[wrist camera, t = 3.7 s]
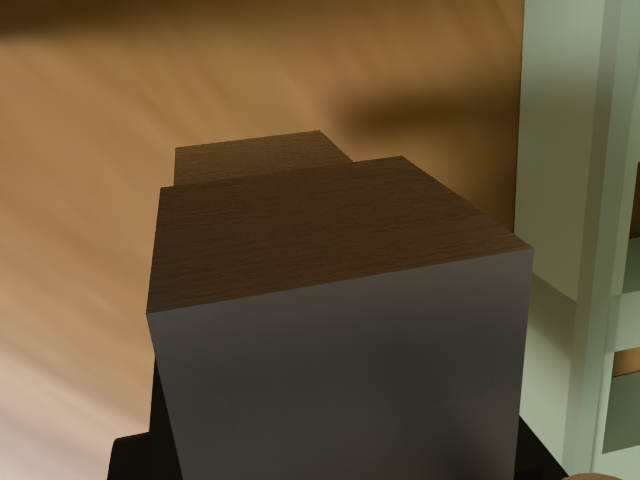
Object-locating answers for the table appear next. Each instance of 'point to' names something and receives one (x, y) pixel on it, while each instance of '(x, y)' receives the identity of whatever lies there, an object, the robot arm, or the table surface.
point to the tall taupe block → (334, 318)
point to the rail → (581, 229)
